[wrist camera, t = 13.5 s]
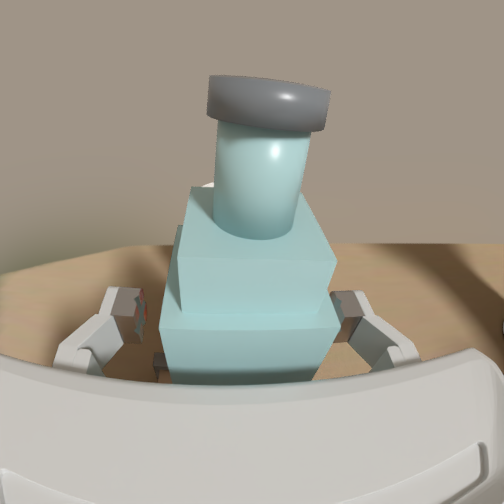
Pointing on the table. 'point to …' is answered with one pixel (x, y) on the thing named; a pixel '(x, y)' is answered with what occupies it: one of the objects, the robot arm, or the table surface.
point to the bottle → (252, 247)
